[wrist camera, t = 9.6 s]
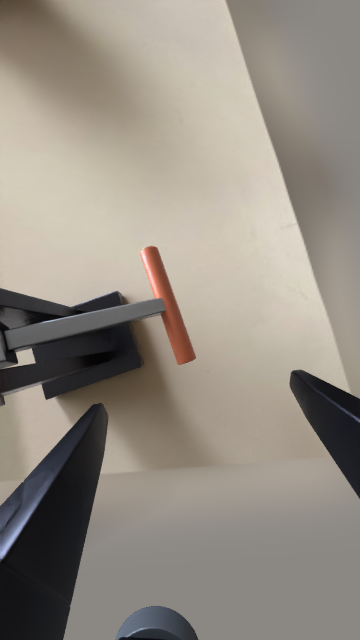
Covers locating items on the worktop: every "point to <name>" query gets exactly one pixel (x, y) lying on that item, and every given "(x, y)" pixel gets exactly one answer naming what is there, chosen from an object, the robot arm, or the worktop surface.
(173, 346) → the lever
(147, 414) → the worktop surface
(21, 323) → the bracket
